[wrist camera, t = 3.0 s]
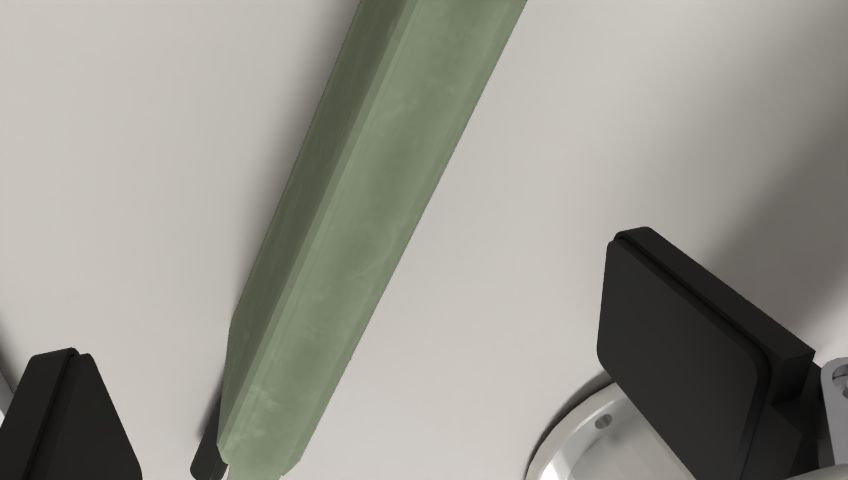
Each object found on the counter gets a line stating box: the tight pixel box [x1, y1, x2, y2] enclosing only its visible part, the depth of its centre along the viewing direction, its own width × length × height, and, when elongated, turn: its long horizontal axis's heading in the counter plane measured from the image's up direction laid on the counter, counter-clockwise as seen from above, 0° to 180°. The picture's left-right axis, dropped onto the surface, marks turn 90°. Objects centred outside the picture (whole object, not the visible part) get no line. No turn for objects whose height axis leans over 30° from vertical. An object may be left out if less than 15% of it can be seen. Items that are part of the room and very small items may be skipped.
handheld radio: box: [190, 0, 527, 480], centre depth 17 cm, size 7×3×25 cm
